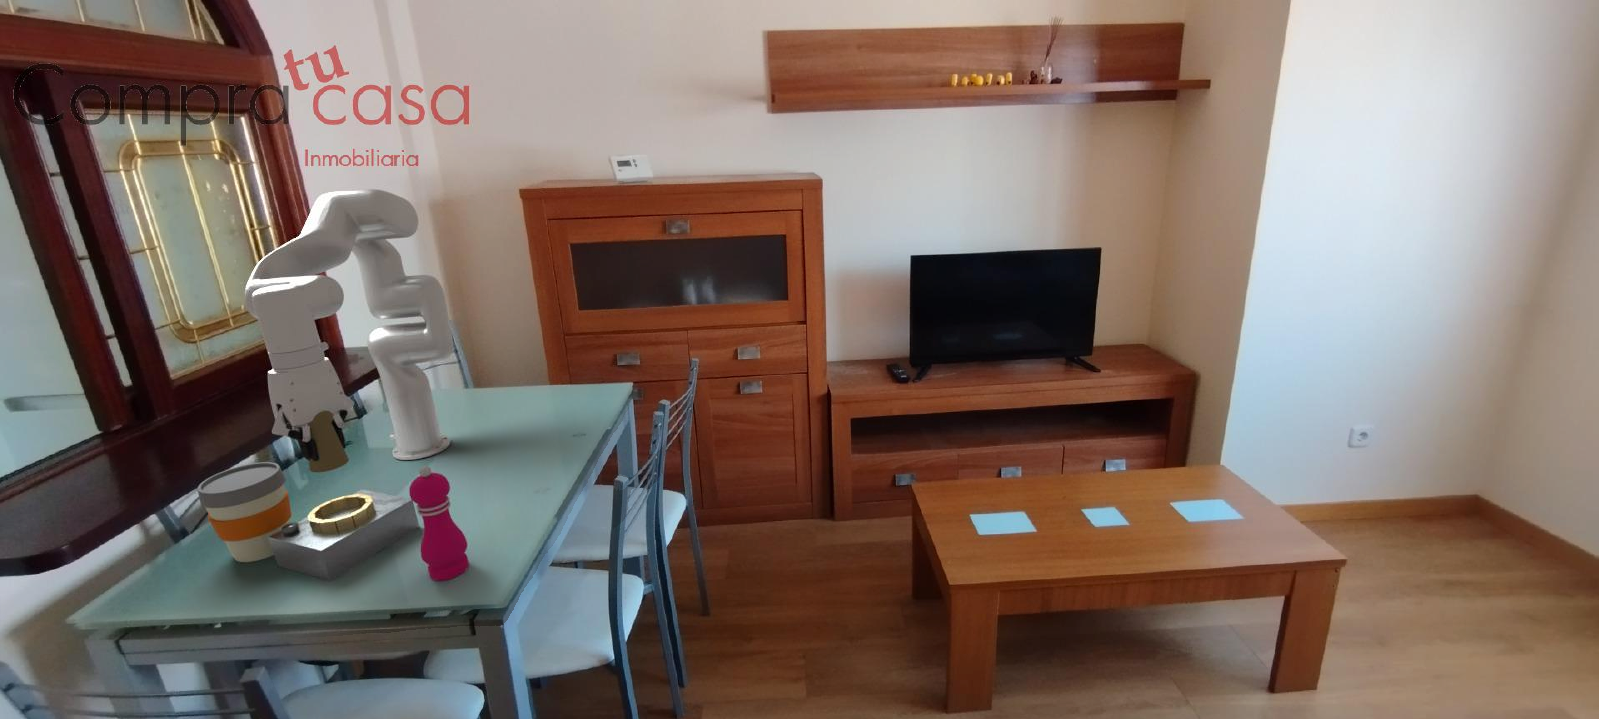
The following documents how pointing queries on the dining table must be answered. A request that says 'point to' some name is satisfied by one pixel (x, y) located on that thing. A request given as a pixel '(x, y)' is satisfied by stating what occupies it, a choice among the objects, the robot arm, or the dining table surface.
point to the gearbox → (343, 533)
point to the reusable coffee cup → (247, 508)
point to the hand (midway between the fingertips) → (325, 452)
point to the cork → (326, 444)
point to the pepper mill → (438, 527)
